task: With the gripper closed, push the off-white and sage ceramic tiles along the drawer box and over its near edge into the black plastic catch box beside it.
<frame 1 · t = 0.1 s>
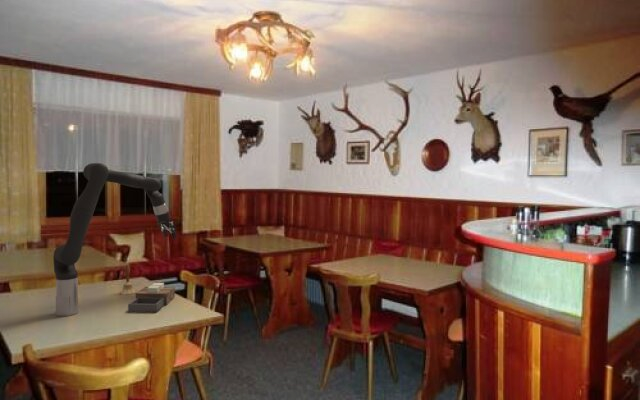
hand: (170, 237, 263), 31 cm above the table, tool tilted 20°, fingers open, 8 cm apart
tile far: (157, 288, 247), point 6 cm above the table, touching drawer box
drawer box: (155, 301, 244), on the table
tile near: (154, 291, 241), point 6 cm above the table, touching drawer box
hand bell: (127, 293, 260), on the table
catch box: (146, 308, 231), on the table
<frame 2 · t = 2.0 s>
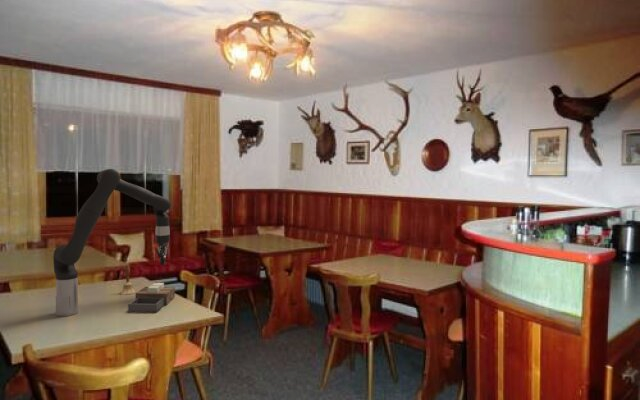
hand: (162, 264, 255), 17 cm above the table, tool pointing down, fingers closed
nothing on the table moved.
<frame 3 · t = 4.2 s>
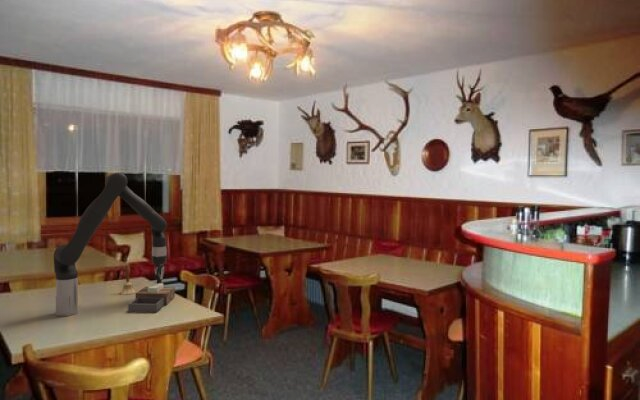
hand: (159, 285, 250), 7 cm above the table, tool pointing down, fingers closed
tile far: (157, 288, 246), point 6 cm above the table, touching gripper, tile near
tile near: (153, 291, 241), point 6 cm above the table, touching tile far
everything else where it was.
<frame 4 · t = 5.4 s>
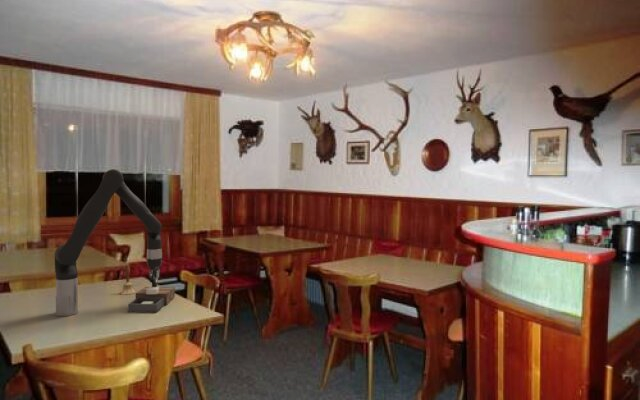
hand: (154, 289, 242), 7 cm above the table, tool pointing down, fingers closed
tile far: (152, 292, 238), point 6 cm above the table, touching gripper
tile near: (146, 302, 230), point 3 cm above the table, tilted 180°, touching catch box
everything else where it was.
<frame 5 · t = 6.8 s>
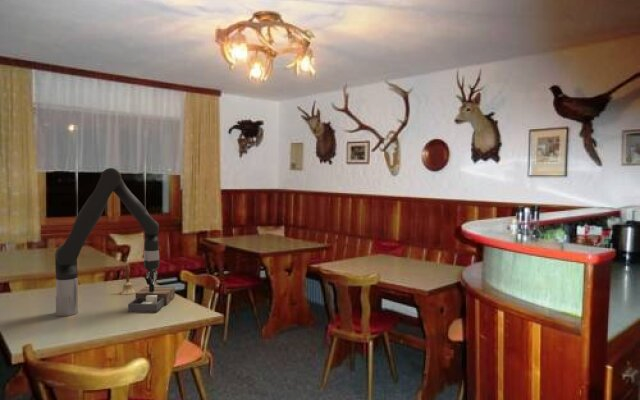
hand: (151, 291, 238), 7 cm above the table, tool pointing down, fingers closed
tile far: (152, 299, 236), point 3 cm above the table, tilted 90°, touching catch box
everything else where it was.
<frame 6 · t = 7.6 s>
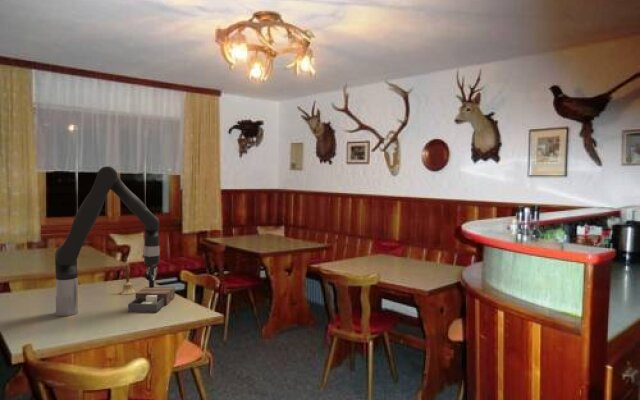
hand: (151, 287, 237), 9 cm above the table, tool pointing down, fingers closed
nothing on the table moved.
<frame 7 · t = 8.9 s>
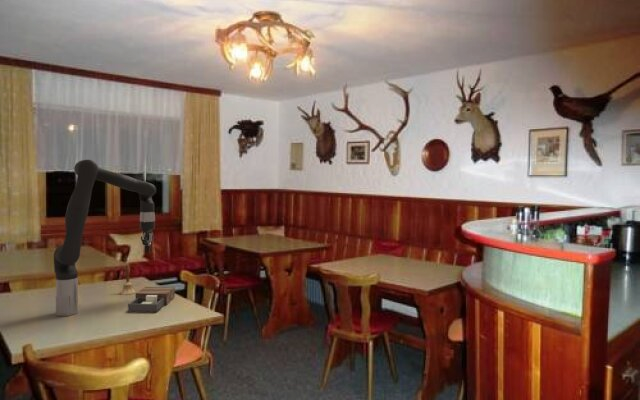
hand: (147, 252, 246), 26 cm above the table, tool pointing down, fingers closed
nothing on the table moved.
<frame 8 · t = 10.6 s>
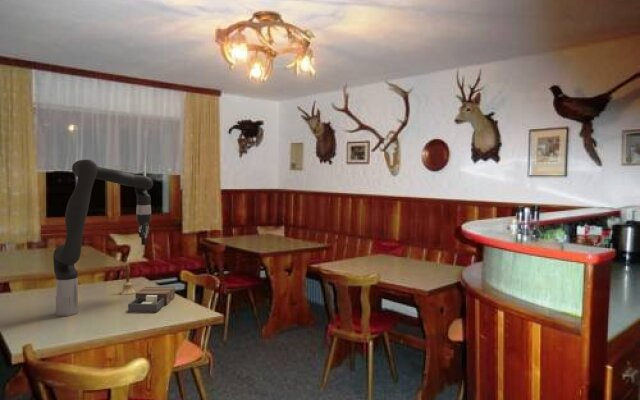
hand: (143, 244, 250), 29 cm above the table, tool pointing down, fingers closed
nothing on the table moved.
at the end: tile near inside the target area (0.6 cm from its centre), point 3.1 cm above the table; tile far inside the target area (4.9 cm from its centre), point 3.1 cm above the table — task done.
